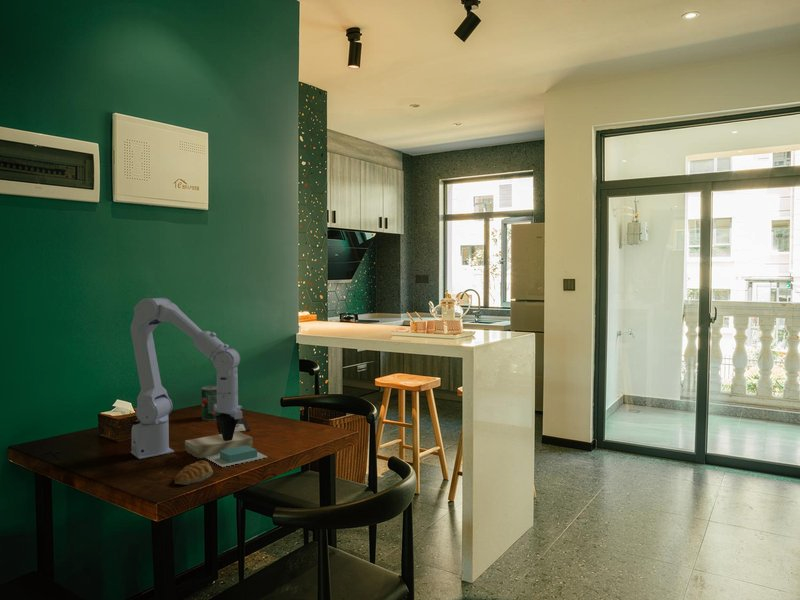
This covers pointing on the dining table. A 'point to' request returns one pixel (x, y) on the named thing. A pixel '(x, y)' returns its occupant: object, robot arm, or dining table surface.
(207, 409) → the canned tomato
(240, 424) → the chocolate bar
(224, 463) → the mat
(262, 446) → the dining table surface
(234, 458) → the tile
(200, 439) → the beige flat block
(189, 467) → the pastry
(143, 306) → the robot arm
